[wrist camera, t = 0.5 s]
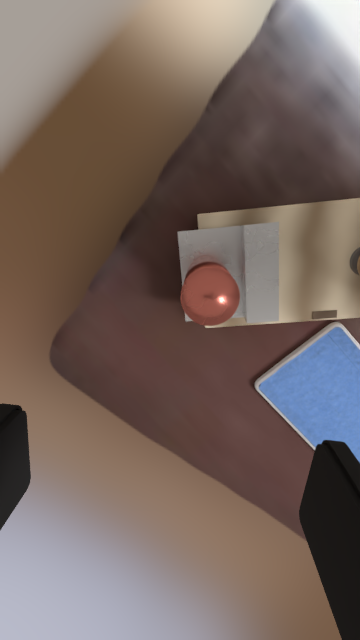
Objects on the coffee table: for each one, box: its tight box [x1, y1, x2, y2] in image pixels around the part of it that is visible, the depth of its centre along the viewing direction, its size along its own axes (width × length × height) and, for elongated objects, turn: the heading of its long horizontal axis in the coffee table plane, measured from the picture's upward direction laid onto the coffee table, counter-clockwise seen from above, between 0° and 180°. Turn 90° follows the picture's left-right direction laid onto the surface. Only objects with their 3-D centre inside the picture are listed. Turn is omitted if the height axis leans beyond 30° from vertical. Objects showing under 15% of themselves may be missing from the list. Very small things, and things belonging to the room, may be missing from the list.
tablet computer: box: [255, 322, 360, 463], centre depth 37 cm, size 19×13×1 cm, turn 44°
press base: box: [197, 198, 360, 328], centre depth 29 cm, size 23×12×7 cm, turn 95°
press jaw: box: [178, 222, 279, 326], centre depth 26 cm, size 9×9×12 cm
